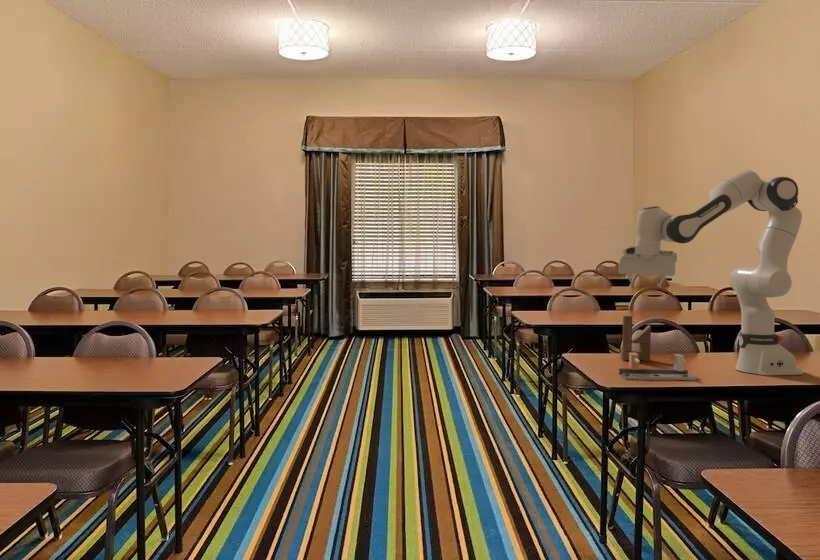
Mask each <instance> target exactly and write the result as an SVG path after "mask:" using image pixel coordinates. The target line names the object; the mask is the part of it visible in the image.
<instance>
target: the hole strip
mask: <svg viewBox="0 0 820 560" xmlns="http://www.w3.org/2000/svg"><path fill="white" fill-rule="evenodd" d="M621 375H622V376H621V377H622V378H623V379H624V380H626V379H628V381H630V380H629V379H635V380H634V381H675V380H688V381H687V382H696V378H697V377H695V376H694V375H693V374H691V373H690V374H631V373H622V374H621ZM637 379H638V380H637Z"/></svg>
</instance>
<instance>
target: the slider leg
mask: <svg viewBox="0 0 820 560" xmlns="http://www.w3.org/2000/svg"><path fill="white" fill-rule="evenodd" d="M638 357H639V355H638V354H637V353H629V361H628V369H631V370H638V369H639V364H640V362H641V361H640V360H638Z"/></svg>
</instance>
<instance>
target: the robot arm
mask: <svg viewBox="0 0 820 560" xmlns="http://www.w3.org/2000/svg"><path fill="white" fill-rule="evenodd" d="M798 196H799V186H798V184H797V182H796V181H795V180H794V179H792V178H791V177H788V176H777V177H775V178H771V179H767V180H763V179H762V178H761V177H760V175H759V174H757V173H756V172H754V171H753V170H743V171H741V172H738V173H735V174H733V175H731V176H729V177H727V178H726V179H724V180H721V182H719V183H717V184H716V185H714V187H712V188H711V190H710V191H709V192H708V196H707V200H708V202H707V203H705V204H704V205H702V206H701V207H698V208H697V209H696V210H694V211H693V212H692V213H689V214H681V215H673V214H671V213H669V212H667V211H665V210H664V209H662V208H661V207H660V206H657V205H655V206H648V207H643V208H641V209H639V211H638V213H637V219H636V227H635V228H636V229H635V230H636V238H635V245H630V246H628V247H625V248H623V249H622V253H623V255H622V256H621V257H620V258H619V263H618V268H617V269H618V270H617V271H618V274H622V275H627V279H628V280H629V282H630V286H629V287H630V288H631V287H633V288H634V287H635V284H636V282H635V281H633V280H632V277H633V276H632V275H636V276H637V275H640V276H641V275H642V276H660V279H661V280H660V282H656V284H657V286H656V288H657V289H661V288H662V284H663V282H664V281H665V279H666V277H673V276H675V275H676V263H677V261H678V255H677V253H676V252H674V251H673V250H661V243H662V241H665V242H669V243H678V244H687V243H690V242H691V241H693V240H694V239H695V238H696V237H697V235H698V233H700V232H701V230H702V229H703V228H704V227H706V226H707V225H708V224H710V223H711V222H713V221H714V220H716V219H717V218H719V217H720V216H722V215H723V214H726V213H728V212H731V211H733V210H734V209H737V208H738V207H740V206H741V205H743V204H744V203H748V204H749V206H750V207H751V208H753V209H754V210H757V211H760V212H767V211H768V212H767V213H768V219H767V223H766V225H765V227H764V229H763V231H762V233H761V236H760V238H759V240H758V243H757V245H756V251H757V253H758V254H759V263H758V265H744V266H739V267H736V268H734V269H733V270H732V271H731V273H730V275H729V279H728V281H729V285H730V287H731V288H732V290H733V291H734V292H735V294H736V296H737V299H738V303H739V306H740V314H741V315H740V316H741V318H740V319H741V320H740V321H741V322H740V323H741V325H740V326H741V327H740V328H741V329H740V332H739V339H738V340H739V341H738V344H739V352H738V357H737V361H736V364H735V367H734V369H735V370H737V371H739V372H743V373H747V374H749V373H750V374H754V375H755V374H756V375H760V376H797V375H798V376H799V375H803V374H804V371H803V370H802V369H800V368H799V367H797V360H796V357H795V356H794V354H792V353H791V352H790V351H789V350H787V349H786V348H785V347H783V346H782V345H781V344H780V342H784V340H785V336H783V335H777V334H776V333H775V323H776V322H775V320H776V319H775V318H776V317H775V316H776V315H775V311H774V310H773V309H772V308H771V306H770V305H769V303H768V299H767V298H778V297H783V296H785V295H787V294H788V293H789V292H790V290H791V288H792V277H791V276H790V273H789V272H788V261H789V260H788V259H789V256H790V254H791V251H792V249H793V246H794V243H795V241H796V238H797V236H798V233H799V232H800V231H799V230H800V227H801V223H802V218H803V213H802V211H801V210H800V209H799V208H798V207H797V204H798V202H799V200H798V199H799V197H798Z"/></svg>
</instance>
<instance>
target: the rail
mask: <svg viewBox="0 0 820 560" xmlns="http://www.w3.org/2000/svg"><path fill="white" fill-rule="evenodd" d="M686 364H687V360H685V355H683V354H682V353H681V354H680V353H673V367H672V368H667V369H666V368H638V370H631V369H630V368H618V374H619V375H622V373H631V374H688V373H689V370H688V369H685V367H684V366H685V365H686Z"/></svg>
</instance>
